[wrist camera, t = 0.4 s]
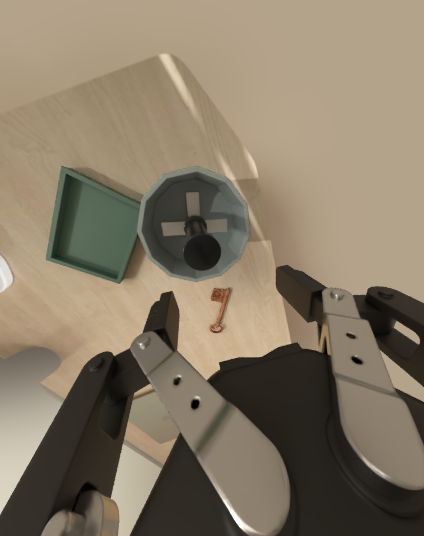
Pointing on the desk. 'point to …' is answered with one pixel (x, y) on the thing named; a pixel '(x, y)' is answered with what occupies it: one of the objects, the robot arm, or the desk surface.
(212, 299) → the key
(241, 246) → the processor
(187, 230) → the blade
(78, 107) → the desk surface
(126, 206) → the tray
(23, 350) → the desk surface
